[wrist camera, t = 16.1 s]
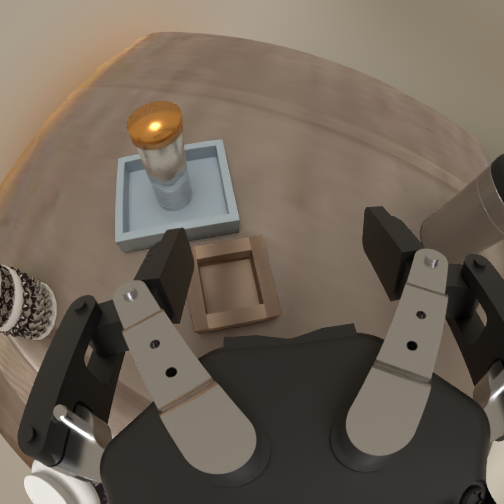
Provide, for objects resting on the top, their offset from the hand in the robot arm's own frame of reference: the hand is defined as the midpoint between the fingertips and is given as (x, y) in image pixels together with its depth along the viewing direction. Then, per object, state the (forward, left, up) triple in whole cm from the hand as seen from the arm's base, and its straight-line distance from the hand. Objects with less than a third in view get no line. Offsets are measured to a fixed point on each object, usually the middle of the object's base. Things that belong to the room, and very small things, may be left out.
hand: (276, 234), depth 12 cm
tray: (+6, -16, -21) cm, 27 cm away
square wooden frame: (+1, -3, -21) cm, 21 cm away
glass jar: (+6, -16, -20) cm, 26 cm away
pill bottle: (+22, +17, -21) cm, 36 cm away
